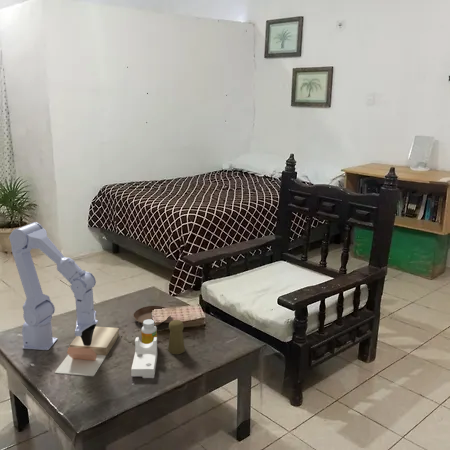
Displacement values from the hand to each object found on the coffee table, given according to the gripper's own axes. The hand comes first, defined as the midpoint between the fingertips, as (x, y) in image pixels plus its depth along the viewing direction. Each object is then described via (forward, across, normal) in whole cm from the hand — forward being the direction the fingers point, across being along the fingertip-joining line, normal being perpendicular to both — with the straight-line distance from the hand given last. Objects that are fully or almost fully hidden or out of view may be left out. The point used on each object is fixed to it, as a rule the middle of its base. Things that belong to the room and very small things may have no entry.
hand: (87, 344), depth 169 cm
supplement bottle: (+4, +8, -20) cm, 22 cm away
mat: (+4, -6, 0) cm, 7 cm away
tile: (+1, -5, 0) cm, 5 cm away
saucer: (+4, +28, -16) cm, 33 cm away
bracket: (+4, -5, -21) cm, 22 cm away
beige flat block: (+4, +7, 0) cm, 8 cm away
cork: (+4, +7, -30) cm, 31 cm away
